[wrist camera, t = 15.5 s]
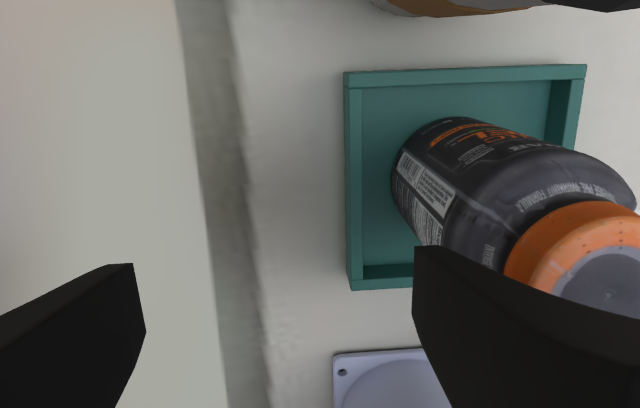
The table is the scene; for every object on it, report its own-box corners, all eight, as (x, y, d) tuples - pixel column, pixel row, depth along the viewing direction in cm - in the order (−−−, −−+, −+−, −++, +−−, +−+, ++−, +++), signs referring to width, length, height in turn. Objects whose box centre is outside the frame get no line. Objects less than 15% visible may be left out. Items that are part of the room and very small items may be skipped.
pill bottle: (521, 121, 20) (780, 190, 10) (492, 236, 22) (682, 403, 11) (398, 108, 20) (526, 167, 9) (379, 228, 22) (466, 395, 11)
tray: (533, 261, 23) (553, 278, 21) (346, 273, 23) (351, 291, 21) (561, 63, 20) (587, 64, 18) (343, 72, 19) (348, 73, 18)
